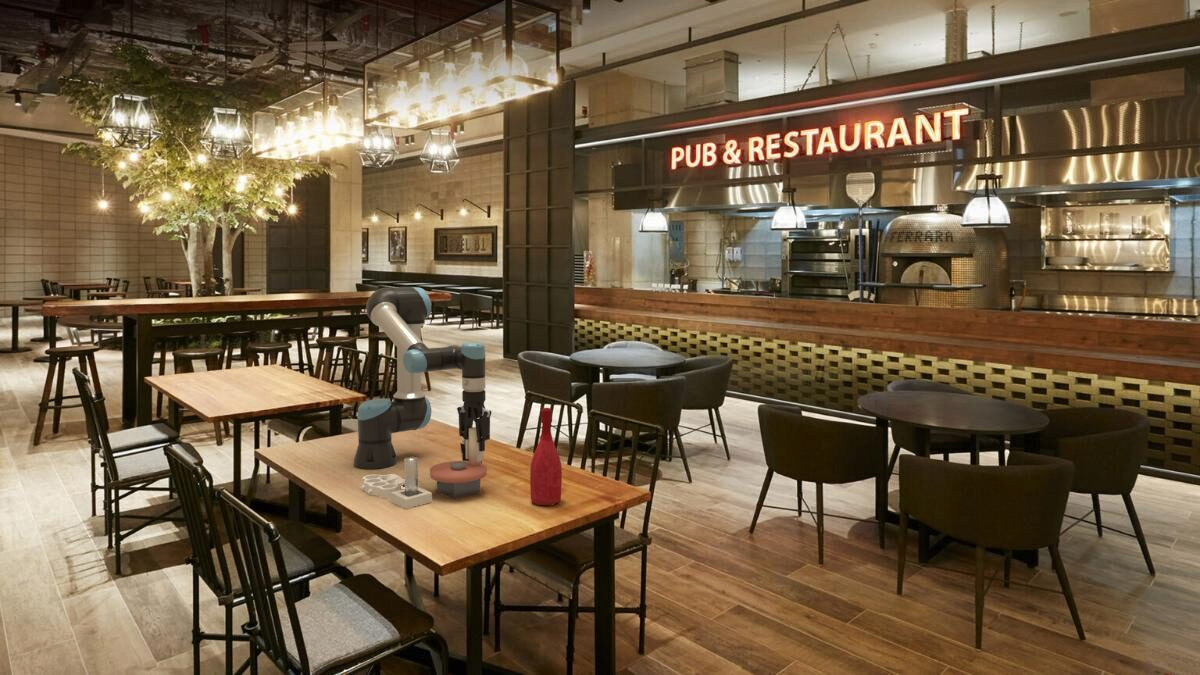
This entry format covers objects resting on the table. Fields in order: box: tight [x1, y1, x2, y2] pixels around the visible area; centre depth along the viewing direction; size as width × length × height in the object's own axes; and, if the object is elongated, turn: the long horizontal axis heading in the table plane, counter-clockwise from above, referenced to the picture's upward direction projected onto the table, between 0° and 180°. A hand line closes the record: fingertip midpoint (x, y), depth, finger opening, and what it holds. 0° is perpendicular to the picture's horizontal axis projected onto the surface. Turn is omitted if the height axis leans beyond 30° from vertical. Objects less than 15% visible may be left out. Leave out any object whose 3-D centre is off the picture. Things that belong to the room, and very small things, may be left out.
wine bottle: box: [529, 407, 563, 506], centre depth 224 cm, size 10×10×30 cm
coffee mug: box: [459, 439, 483, 464], centre depth 261 cm, size 12×9×10 cm
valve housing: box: [436, 479, 481, 500], centre depth 233 cm, size 10×10×6 cm
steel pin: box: [403, 456, 419, 497], centre depth 223 cm, size 4×4×14 cm
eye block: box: [390, 486, 433, 510], centre depth 223 cm, size 9×9×3 cm
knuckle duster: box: [359, 473, 405, 499], centre depth 235 cm, size 3×18×15 cm
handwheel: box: [429, 426, 488, 483], centre depth 232 cm, size 18×18×14 cm
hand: (474, 459), depth 237 cm, fingers open, 4 cm apart
